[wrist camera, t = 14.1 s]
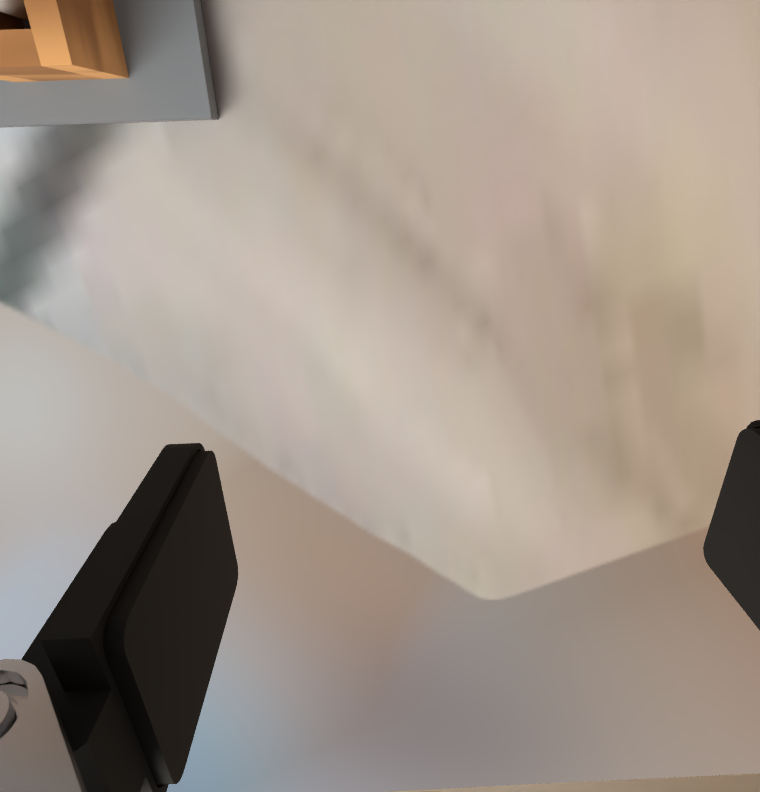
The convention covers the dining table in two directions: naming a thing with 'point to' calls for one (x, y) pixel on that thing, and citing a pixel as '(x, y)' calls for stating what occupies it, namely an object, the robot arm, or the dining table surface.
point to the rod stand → (147, 68)
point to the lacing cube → (62, 42)
